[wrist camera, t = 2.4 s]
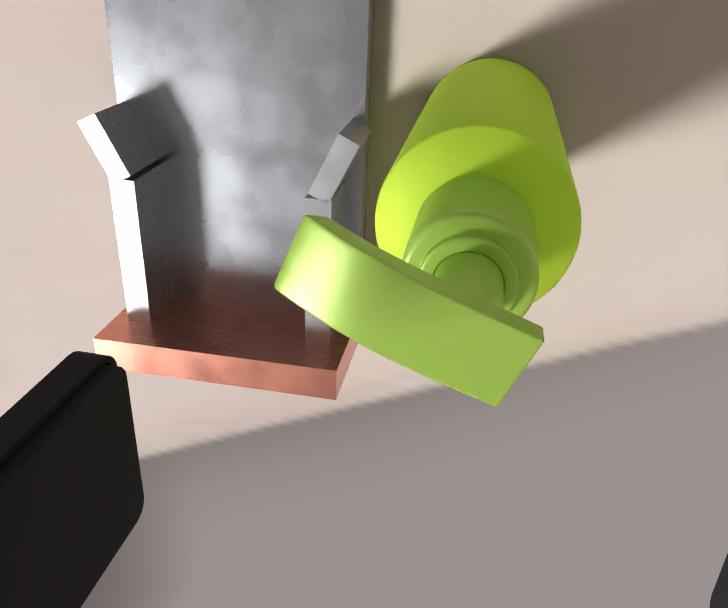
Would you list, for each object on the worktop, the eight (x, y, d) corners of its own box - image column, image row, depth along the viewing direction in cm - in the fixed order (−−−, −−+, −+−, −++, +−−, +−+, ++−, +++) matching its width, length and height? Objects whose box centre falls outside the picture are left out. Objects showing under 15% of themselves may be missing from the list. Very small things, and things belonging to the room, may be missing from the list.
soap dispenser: (439, 22, 30) (339, 128, 12) (581, 96, 30) (680, 302, 13) (381, 143, 33) (233, 369, 15) (512, 209, 33) (514, 507, 15)
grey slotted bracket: (103, -45, 31) (20, -43, 26) (382, -31, 29) (354, -27, 24) (146, 309, 39) (91, 365, 34) (366, 337, 38) (343, 401, 32)
